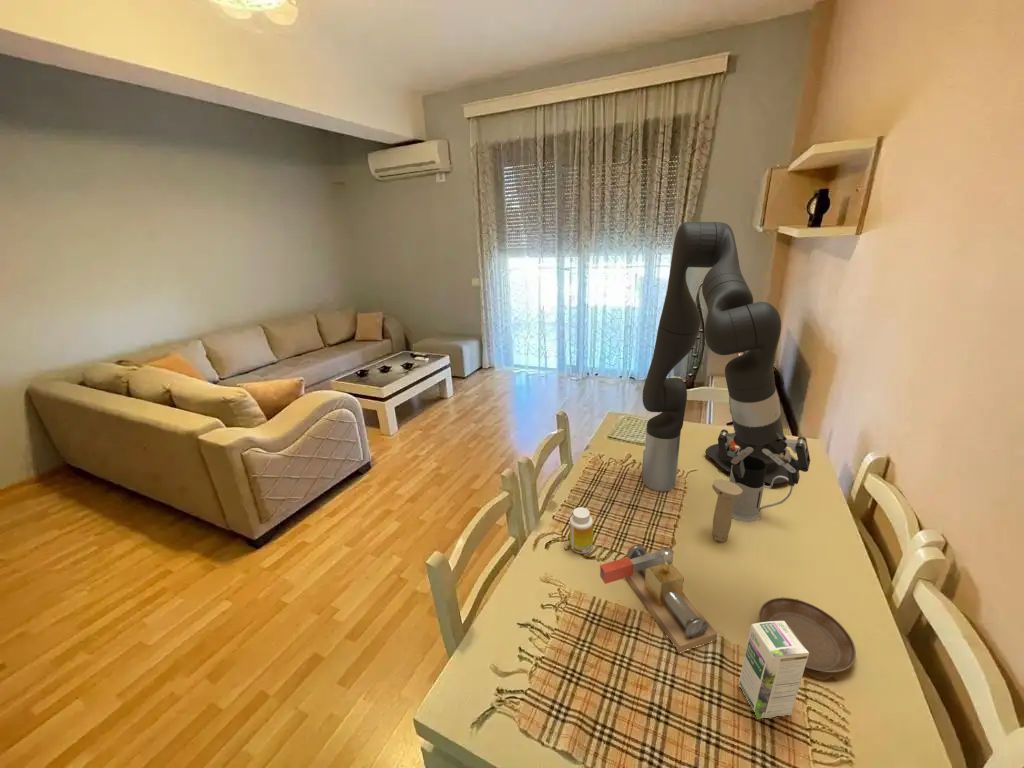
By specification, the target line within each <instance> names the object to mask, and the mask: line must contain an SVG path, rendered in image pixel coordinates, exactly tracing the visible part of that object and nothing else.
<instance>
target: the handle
mask: <svg viewBox="0 0 1024 768" xmlns="http://www.w3.org/2000/svg"><path fill="white" fill-rule="evenodd" d="M711 488H712V489H713V491H714V492H715V493H716V494H717V500H716V504H715V507H714V508H715V509H714V513H713V518H712V536H713V538H714V540H715V541H716V542H717V541H718V542H721V543H724V542H725V541H727V540H728V538H729V534H730V530H731V527H732V521H733V518H732V510H733V500H734V499H738V498H740V497H741V496H742V491H743V490H742V489H741V488H740V487H739V486H738V485H736V484H734V483H732V482H730V481H729V480H727V479H723V478H722V479H721V478H718V479H715V480H713V481H712V486H711Z"/></svg>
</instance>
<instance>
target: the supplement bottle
mask: <svg viewBox="0 0 1024 768" xmlns="http://www.w3.org/2000/svg"><path fill="white" fill-rule="evenodd" d="M593 531H594V519H593V518H592V516H591V513H590V510H589V509H588V508H586V507H576V508H574V510H572V515H571V516H570V518H569V546H570V548H571V549H572V551H573V552H575V553H576V554H577V553H578V554H587V553H589V552H590V551H592V549H593V546H594V543H593V542H594V532H593Z"/></svg>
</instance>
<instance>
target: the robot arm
mask: <svg viewBox="0 0 1024 768" xmlns="http://www.w3.org/2000/svg"><path fill="white" fill-rule="evenodd" d="M671 255H672V256H671V260H670V269H669V277H668V283H667V288H666V292H665V298H664V302H663V306H662V311H661V314H660V318H659V323H658V328H657V331H656V332H657V333H656V339H655V345H654V347H653V348H654V350H653V354H652V358H651V361H650V365H649V368H648V371H647V374H646V377H645V381H644V385H643V388H642V405H643V406H644V409H645V410H646V411H647V412H650V413H659V414H657V415H655V416H652V417H651V418H649V420H647V423H646V429H645V430H646V431H645V444H644V445H645V448H644V449H643V451H642V452H643V454H642V465H641V466H642V467H641V469H642V470H641V477H642V481H643V484H644V486H646V487H647V488H648V489H650V490H653V491H656V492H662V493H663V492H670V491H672V490H674V489H675V488H676V483H677V475H678V473H677V472H678V463H679V454H680V453H679V452H680V442H681V434H682V433H681V432H682V429H683V426H684V420H685V419H684V418H685V413H686V407H687V401H688V391H687V385H686V383H685V381H684V380H683V379H682V378H679V377H669V378H668V376H669V374H670V373H671V371H672V370H673V369H674V368H675V367H676V366H677V365H678V364H679V363H680V362H681V361H682V360H684V358H685V357H687V356H688V354H689V353H690V352H691V350H692V349H693V348H694V346H695V344H696V341H697V338H698V334H699V331H700V328H701V322H702V319H701V318H702V317H701V313H700V311H699V309H698V306H697V304H696V302H695V301H694V298H693V296H692V294H691V292H690V288H689V286H688V283H687V270H688V268H706V269H707V268H708V269H709V268H710V269H709V270H708V271H707V272H706V275H704V278H703V281H702V284H701V292H702V296H703V299H704V302H705V305H706V308H707V314H706V319H705V324H704V338H705V339H704V340H705V343H706V346H707V347H708V349H709V350H710V351H711V352H713V353H714V354H716V355H719V356H730V355H734V354H739V353H742V354H740V355H738V356H737V357H734V358H731V360H730V361H728V363H727V364H725V367H724V375H725V376H724V377H725V381H726V386H727V391H728V404H729V413H730V415H731V421H732V424H733V426H732V427H733V431H734V433H735V434H731V433H732V432H731V433H730V432H729V431H728V430H727V429H725V428H724V429H721V430H720V432H719V435H718V438H717V444H718V445H719V452H720V458H721V459H722V460H724V461H726V460H729V461H731V463H732V464H733V469H734V473H735V474H737V475H738V477H739V478H743V476H744V473H745V468H744V463H743V459H744V458H745V457H746V456H748V455H750V456H751V457H754V458H764V459H769V460H771V458H772V459H773V460H774V461H775V462H776V463H777V464H778V465H782V466H784V467H785V468H786V469H787V470H788V480H789V481H788V486H790V487H791V486H793V487H795V485H798V484H799V481H800V477H801V476H800V471H801V472H803V473H807V472H809V469H810V464H811V457H810V451H809V447H808V441H807V439H806V437H804V436H799V437H797V439H789V438H787V437H786V436H785V434H784V428H783V427H784V426H783V419H782V418H783V417H782V413H781V405H780V399H779V395H778V391H777V388H776V383H775V382H776V380H775V374H774V365H775V364H774V363H775V358H776V352H777V348H778V345H779V341H780V337H781V333H782V320H781V315H780V313H779V311H778V309H777V308H776V307H775V306H774V305H773V304H771V303H769V302H767V301H758V302H754V297H753V294H752V291H751V289H750V287H749V285H748V284H747V281H746V279H745V278H744V276H743V273H742V272H741V271H742V270H741V266H740V260H739V259H740V258H739V256H738V255H739V253H738V248H737V243H736V238H735V235H734V231H733V229H732V228H731V226H730V225H729V224H728V223H726V222H721V221H685V222H683V223H681V224H680V225H679V227H678V229H677V231H676V234H675V237H674V242H673V248H672V254H671ZM743 352H744V353H743ZM731 441H734V442H735V443H736V444H737V445H738V446H739V448H738V449H737V450H736V451H735V452H732V451H730V443H731ZM787 447H788V448H790V449H791V451H792V452H793V454H796V456H797V457H794V455H793V454H791V452H790V450H789V449H788V448H787ZM779 454H780V456H779Z"/></svg>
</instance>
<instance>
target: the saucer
mask: <svg viewBox="0 0 1024 768" xmlns="http://www.w3.org/2000/svg"><path fill="white" fill-rule="evenodd" d="M758 621H759V623H761V622H769V621H785V622H786V624H787V625H788V626H789V628H790V629H791V630H792V631H793V633H794V634H795V635H796V636H797V638H798V639H799V641H800V642H801V643H802V645H803V646H804V648H805V649H806V650H807V651H808V652H809V656H808V659H807V662H806V666H805V668H806V669H809V670H812V671H814V672H815V671H816V672H820V673H838V672H842V671H846V670H848V669H849V668H850V667H851V666H853V664H854V662H855V660H856V656H857V655H856V654H857V651H856V645H855V643H854V641H853V639H852V637H851V636H850V634H849V633H848V632H847V630H846V629H845V627H843V625H842V624H841V623H840V622H839V621H838V620H836V619H835V618H834V617H833V616H832V615H830V614H829V613H827V612H826V611H824V610H823V609H821V608H820V607H818V606H815V605H813V604H811V603H809V602H806V601H803V600H800V599H797V598H791V597H776V598H771V599H769V600H767V601H765V602H764V603H763V604H762V606H761V607H760V609H759V612H758Z"/></svg>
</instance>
